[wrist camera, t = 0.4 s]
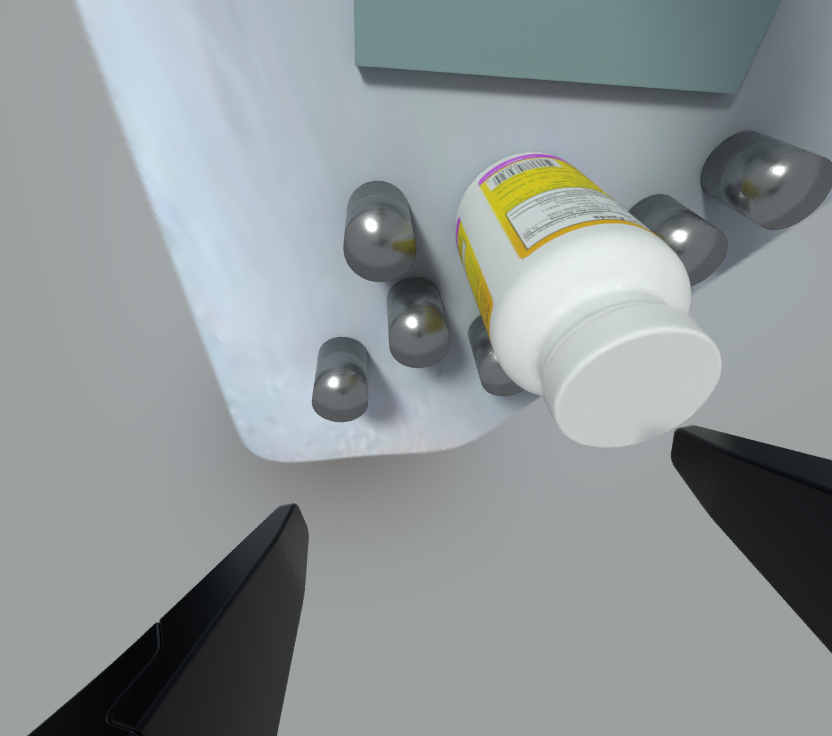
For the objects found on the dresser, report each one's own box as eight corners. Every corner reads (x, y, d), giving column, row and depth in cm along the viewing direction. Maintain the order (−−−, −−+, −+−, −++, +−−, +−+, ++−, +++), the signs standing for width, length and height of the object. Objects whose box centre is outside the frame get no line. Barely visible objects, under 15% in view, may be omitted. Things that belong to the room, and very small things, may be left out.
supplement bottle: (525, 296, 25) (623, 489, 15) (427, 243, 23) (471, 435, 13) (613, 191, 22) (812, 358, 12) (508, 115, 19) (653, 247, 9)
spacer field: (294, 101, 18) (279, 123, 15) (780, 132, 20) (852, 158, 17) (320, 375, 28) (314, 422, 25) (647, 375, 30) (678, 418, 27)
